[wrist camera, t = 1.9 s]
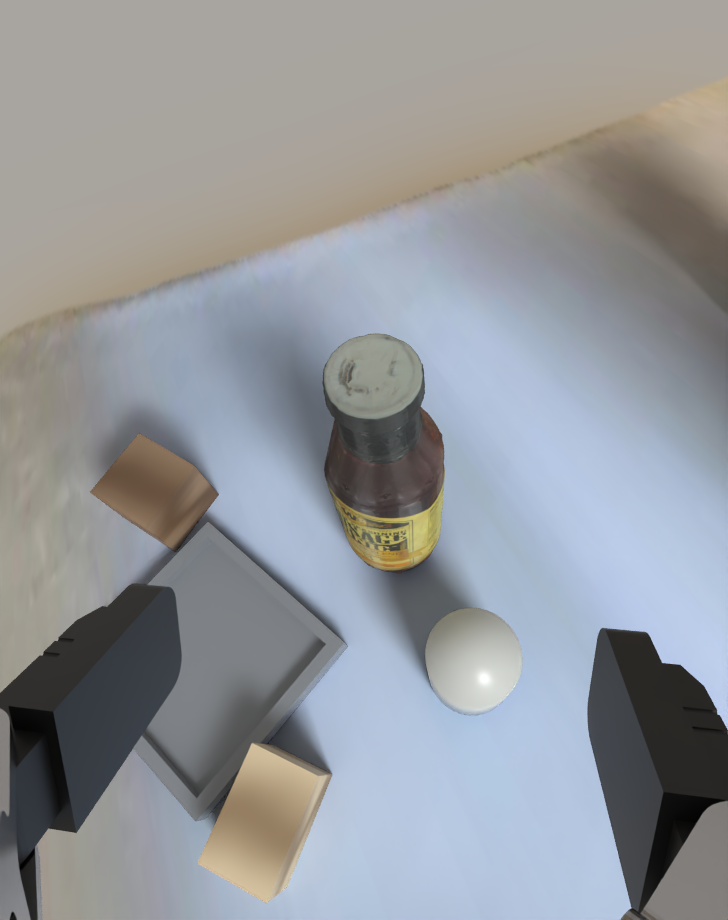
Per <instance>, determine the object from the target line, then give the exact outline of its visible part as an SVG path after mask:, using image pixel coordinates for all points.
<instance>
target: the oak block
mask: <svg viewBox="0 0 728 920" xmlns="http://www.w3.org/2000/svg"><path fill="white" fill-rule="evenodd" d="M331 777H332V774H331V773H329V772H327V771H325V770H323V769H321V768H319V767H317V766H315V765H313V764H311V763H309V762H307V761H305V760H303V759H301V758H299V757H297V756H295V755H293V754H291V753H289V752H286V751H284V750H282V749H280V748H278V747H276V746H274V745H272V744H260V743H252V744H251V746H250V748H249V751H248V753H247V755H246V757H245V759H244V762H243V764H242V766H241V768H240V770H239V773H238V775H237V777H236V779H235V782H234V784H233V786H232V788H231V790H230V793H229V795H228V797H227V799H226V801H225V804H224V806H223V808H222V810H221V812H220V815H219V817H218V819H217V821H216V823H215V826H214V828H213V830H212V832H211V834H210V837H209V839H208V841H207V843H206V845H205V848H204V850H203V852H202V854H201V857H200V859H199V861H198V864H199V865H201V866H203V867H205V868H206V869H208V870H210V871H211V872H213V873H215V874H217V875H218V876H220V877H222V878H224V879H225V880H227V881H229V882H230V883H232V884H234V885H236V886H237V887H239V888H241V889H243V890H244V891H246V892H248V893H249V894H251V895H253V896H255V897H256V898H258V899H260V900H262V901H263V902H265V903H268V902H269V901H270V900H271V899H273V898H274V897H275V896H276V895H278V894H279V893H280V892H282V891H283V890H284V889H285V888H287V886H288V884H289V881H290V879H291V876H292V874H293V872H294V869H295V867H296V864H297V862H298V859H299V857H300V854H301V852H302V849H303V847H304V844H305V842H306V839H307V837H308V834H309V832H310V829H311V827H312V824H313V822H314V819H315V817H316V814H317V812H318V809H319V807H320V804H321V802H322V799H323V797H324V794H325V792H326V789H327V787H328V784H329V782H330V779H331Z"/></svg>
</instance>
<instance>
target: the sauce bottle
mask: <svg viewBox="0 0 728 920" xmlns="http://www.w3.org/2000/svg"><path fill="white" fill-rule="evenodd" d="M323 387H324V395H325V400H326V405H327V407H328V409H329V411H330V413H331V415H332V416H333V417H334V418H335V421H334V425H333V430H332V434H331V439H330V443H329V448H328V452H327V457H326V461H325V468H324V471H325V477H326V480H327V484H328V487H329V490H330V493H331V495H332V498H333V501H334V504H335V506H336V510H337V512H338V514H339V517H340V520H341V523H342V525H343V528H344V531H345V533H346V536H347V539H348V541H349V543H350V545H351V547H352V549H353V550H354V551H355V553H356V554H357V555H358V556H359V557H360V558H361V559H362V560H363V561H364V562H365V563H367V564H368V565H369V566H372V567H373V568H377V569H380V570H382V571H388V572H397V573H400V572H402V571H405V570H408V569H410V568H413V567H415V566H417V565H418V564H420V563H421V562H423V561H424V560H425V559H427V558H428V557H429V556H430V554H431V553H432V551H433V549H434V547H435V545H436V544H437V541H438V539H439V536H440V530H441V518H442V506H443V491H444V476H445V470H444V445H443V441H442V434H441V433H440V431H439V429H438V427H437V426H436V424H435V422H434V421H433V419H432V418H431V417H430V415H429V414H428V413H427V412H426V411H425V410H423V409H422V408H421V403H422V401H423V398H424V394H425V389H424V388H425V382H424V370H423V365H422V363H421V361H420V359H419V357H418V355H417V354H416V352H415V351H414V350H413V349H412V347H411V346H409V345H408V344H407V343H405V342H403V341H401V340H399V339H396V338H394V337H392V336H390V335H385V334H368V335H365V336H359V337H356V338H353V339H350V340H348V341H346V342H345V343H343V344H342V345H341V346H339V347H338V348H337V349H336V350H335V351H334V352H333V353H332V354H331V356H330V358H329V360H328V361H327V363H326V365H325V368H324V371H323Z"/></svg>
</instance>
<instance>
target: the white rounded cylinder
mask: <svg viewBox="0 0 728 920" xmlns="http://www.w3.org/2000/svg"><path fill="white" fill-rule="evenodd" d="M425 661H426V667H427V671H428V676H429V680H430V684H431V686H432V689H433V691H434V693H435V694H436V696H437V697H438V698H439V700H440V701H441V702H442V703H443V704H444V705H445V706H447V707H448V708H450V709H451V710H453V711H455V712H458V713H460V714H464V715H480V714H484V713H487V712H489V711H491V710H493V709H494V708H496V707H497V706H498V705H499V704H500V703H501V702H502V701H503V700H504V699H505V698H506V697H507V696H508V695H509V693H510V692H511V691H512V690H513V689H514V687H515V685H516V684H517V682H518V680H519V677H520V674H521V670H522V651H521V647H520V644H519V641H518V639H517V637H516V635H515V633H514V631H513V630H512V629H511V627H510V626H509V625H508V624H507V623H506V622H505V621H504V620H503V619H502V618H500V617H499V616H497V615H495V614H493V613H492V612H489V611H486V610H483V609H479V608H464V609H459V610H456V611H453V612H451V613H449V614H447V615H446V616H444V617H443V618H442V619H440V620H439V621H438V622H437V624H436V625H435V626H434V628H433V629H432V631H431V633H430V635H429V637H428V640H427V643H426V649H425Z"/></svg>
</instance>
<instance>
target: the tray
mask: <svg viewBox="0 0 728 920" xmlns="http://www.w3.org/2000/svg"><path fill="white" fill-rule="evenodd" d="M147 585H155V586H166V587H171V588H172V589H173V591H174V593H175V596H176V604H177V613H178V623H179V632H180V642H181V651H182V662H181V669H180V673H179V676H178V679H177V682H176V684H175V686H174V688H173V689H172V691H171V692H170V694H169V695H168V697H167V698H166V700H165V701H164V703H163V704H162V706H161V707H160V709H159V710H158V712H157V713H156V715H155V716H154V718H153V719H152V721H151V722H150V724H149V725H148V727H147V728H146V730H145V731H144V733H143V734H142V736H141V737H140V739H139V740H138V742H137V743H136V745H135V746H134V748H133V749H134V750H135V751H136V752H137V754H138V755H139V756H140V757H141V758H142V759H143V761H144V762H145V763H146V764H147V765H148V766H149V768H150V769H151V770H152V771H153V772H154V773H155V775H156V776H157V777H158V778H159V779H160V780H161V782H162V783H163V784H164V785H165V786H166V787H167V789H168V790H169V791H170V792H171V793H172V795H173V796H174V797H175V798H176V799H177V800H178V802H179V803H180V804H181V805H182V806H183V807H184V809H185V810H186V811H187V812H188V813H189V814H190V816H191V817H192V818H193V819H194V820H195V821H199V820H204V819H205V818H206V817H207V816H208V815H209V814H210V812H211V811H212V810H213V809H214V808H215V806H216V805H217V804H218V803H219V802H220V800H221V799H222V798H223V797H224V796H225V794H226V793H227V792H228V791H229V789H230V788H231V787H232V786H233V784H234V782H235V779H236V777H237V775H238V773H239V770H240V768H241V766H242V764H243V762H244V759H245V757H246V755H247V753H248V751H249V748H250V746H251V744H252V743H260V744H268V742H269V741H270V740H271V739H272V737H273V736H274V735H275V734H276V733H277V731H278V730H279V729H280V728H281V727H282V725H283V724H284V723H285V722H286V721H287V719H288V718H289V717H290V716H291V715H292V713H293V712H294V711H295V710H296V708H297V707H298V706H299V705H300V704H301V702H302V701H303V700H304V699H305V698H306V696H307V695H308V694H309V693H310V692H311V690H312V689H313V688H314V687H315V686H316V684H317V683H318V682H319V681H320V679H321V678H322V677H323V676H324V675H325V673H326V672H327V671H328V670H329V669H330V667H331V666H332V665H333V664H334V663H335V661H336V660H337V659H338V658H339V656H340V655H341V654H342V653H343V652H344V650H345V649H346V648H347V647H348V646H347V645H346V644H345V643H344V642H343V641H342V640H341V639H340V638H339V637H338V636H336V635H335V634H334V633H333V632H332V631H331V630H330V629H329V628H327V627H326V626H325V625H324V624H323V623H322V622H321V621H320V620H318V619H317V618H316V617H315V616H314V615H313V614H312V613H311V612H309V611H308V610H307V609H306V608H305V607H304V606H303V605H302V604H300V603H299V602H298V601H297V600H296V599H295V598H294V597H293V596H291V595H290V594H289V593H288V592H287V591H286V590H285V589H284V588H282V587H281V586H280V585H279V584H278V583H277V582H276V581H275V580H273V579H272V578H271V577H270V576H269V575H268V574H267V573H265V572H264V571H263V570H262V569H261V568H260V567H259V566H258V565H256V564H255V563H254V562H253V561H252V560H251V559H250V558H249V557H247V556H246V555H245V554H244V553H243V552H242V551H241V550H240V549H238V548H237V547H236V546H235V545H234V544H233V543H232V542H231V541H229V540H228V539H227V538H226V537H225V536H224V535H223V534H222V533H220V532H219V531H218V530H217V529H216V528H215V527H214V526H213V525H211V524H210V523H209V522H207V523H206V524H205V525H204V526H203V527H202V528H201V529H200V530H199V531H198V532H197V533H196V535H195V536H194V537H193V538H192V539H191V540H190V541H189V542H188V543H187V544H186V545H185V546H184V547H183V548H182V549H181V550H180V551H179V552H178V553H177V554H176V555H175V556H174V557H173V558H172V559H171V560H170V561H169V562H168V564H167V565H166V566H165V567H164V568H163V569H162V570H161V571H160V572H159V573H158V574H157V575H156V576H155V577H154V578H153V579H152V580H151V581H150V582H149V583H148V584H147Z"/></svg>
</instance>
